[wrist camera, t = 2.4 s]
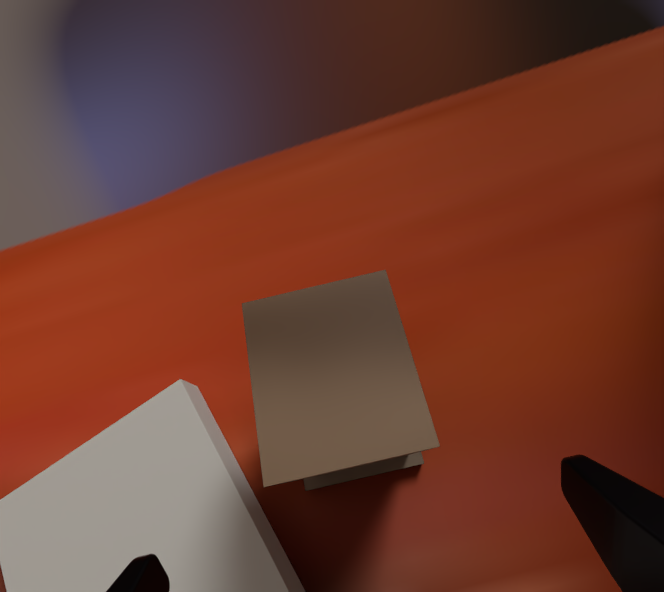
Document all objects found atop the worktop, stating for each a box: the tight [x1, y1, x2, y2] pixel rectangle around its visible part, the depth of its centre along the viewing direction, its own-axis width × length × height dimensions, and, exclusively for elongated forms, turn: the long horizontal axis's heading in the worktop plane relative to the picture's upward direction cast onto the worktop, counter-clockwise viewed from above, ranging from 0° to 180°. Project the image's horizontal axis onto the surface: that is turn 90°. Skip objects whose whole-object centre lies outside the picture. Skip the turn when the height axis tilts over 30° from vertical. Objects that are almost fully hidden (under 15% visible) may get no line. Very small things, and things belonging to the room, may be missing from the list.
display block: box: [0, 379, 306, 592], centre depth 16 cm, size 14×10×2 cm
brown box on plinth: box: [242, 270, 440, 491], centre depth 15 cm, size 6×6×10 cm
